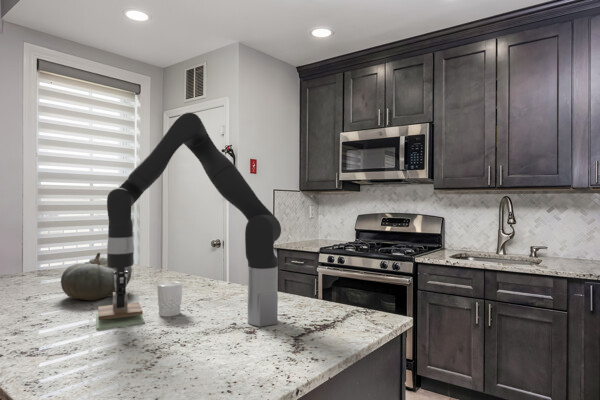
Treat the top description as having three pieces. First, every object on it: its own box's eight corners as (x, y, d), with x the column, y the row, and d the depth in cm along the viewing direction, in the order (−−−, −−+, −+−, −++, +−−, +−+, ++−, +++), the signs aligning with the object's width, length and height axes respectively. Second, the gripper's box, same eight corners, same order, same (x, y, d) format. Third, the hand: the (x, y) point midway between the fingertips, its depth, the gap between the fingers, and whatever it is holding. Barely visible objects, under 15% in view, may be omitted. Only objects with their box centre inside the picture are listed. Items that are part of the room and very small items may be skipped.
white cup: (151, 315, 125) (152, 284, 125) (170, 309, 132) (170, 280, 132) (169, 318, 121) (169, 287, 121) (187, 312, 128) (187, 282, 128)
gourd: (146, 283, 161) (139, 243, 158) (112, 309, 137) (103, 263, 134) (92, 287, 164) (84, 248, 161) (49, 313, 139) (38, 268, 137)
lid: (142, 314, 118) (142, 294, 118) (98, 319, 112) (98, 299, 112) (138, 305, 128) (138, 287, 128) (98, 309, 123) (98, 291, 123)
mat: (144, 323, 116) (144, 321, 116) (96, 329, 110) (96, 327, 110) (139, 310, 130) (139, 308, 130) (96, 315, 124) (96, 313, 124)
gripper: (135, 253, 116) (135, 309, 116) (131, 248, 128) (131, 299, 128) (108, 254, 112) (107, 313, 112) (106, 249, 125) (106, 301, 125)
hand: (120, 305), depth 120 cm, fingers closed on lid, 4 cm apart
